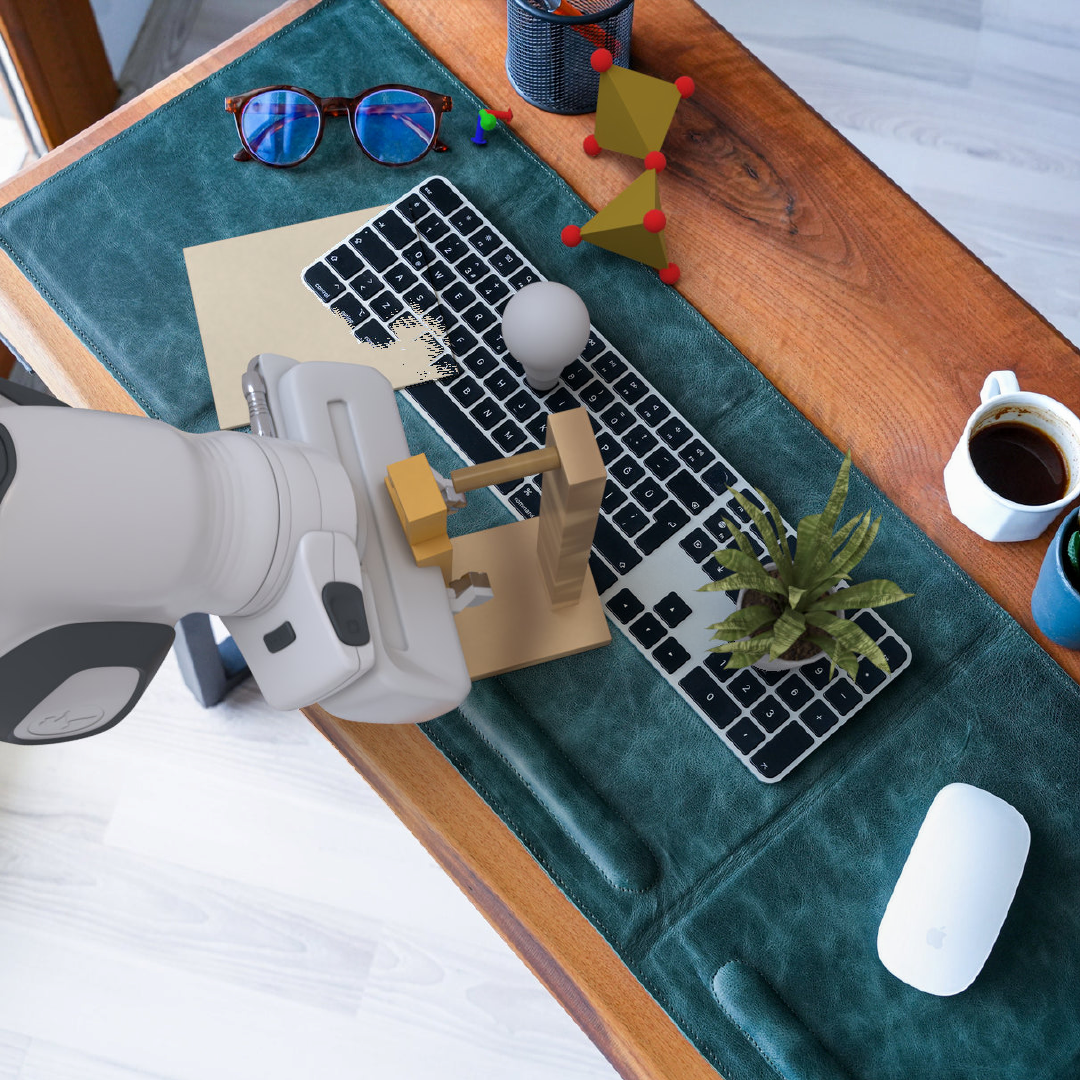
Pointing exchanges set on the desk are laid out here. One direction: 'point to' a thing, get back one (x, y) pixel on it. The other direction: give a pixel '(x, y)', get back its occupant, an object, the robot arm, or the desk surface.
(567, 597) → the coat rack
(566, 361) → the lightbulb
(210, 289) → the flat beige board
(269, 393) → the robot arm
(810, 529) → the house plant
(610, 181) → the desk surface
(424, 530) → the stepped golden-orange block
